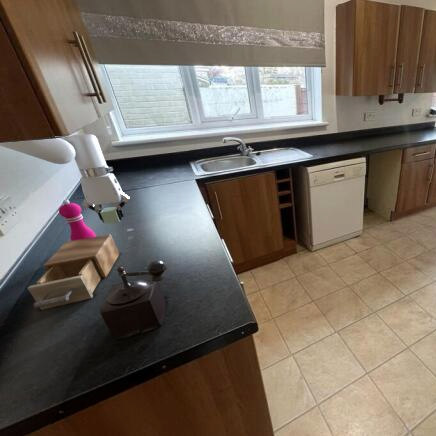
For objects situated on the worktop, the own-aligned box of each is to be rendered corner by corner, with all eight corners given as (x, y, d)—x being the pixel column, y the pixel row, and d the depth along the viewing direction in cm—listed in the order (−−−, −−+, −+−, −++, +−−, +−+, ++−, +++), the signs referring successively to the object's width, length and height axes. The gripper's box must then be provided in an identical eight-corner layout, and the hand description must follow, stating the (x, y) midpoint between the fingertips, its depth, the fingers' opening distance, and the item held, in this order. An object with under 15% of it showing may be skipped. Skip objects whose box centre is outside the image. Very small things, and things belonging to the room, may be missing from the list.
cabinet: (107, 280, 86) (95, 255, 82) (58, 291, 82) (43, 265, 78) (120, 257, 98) (110, 234, 94) (78, 265, 94) (66, 241, 90)
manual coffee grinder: (111, 343, 64) (79, 283, 56) (123, 312, 73) (96, 256, 65) (183, 322, 69) (163, 265, 61) (186, 295, 78) (168, 242, 70)
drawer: (85, 311, 73) (72, 288, 69) (31, 323, 69) (15, 300, 66) (107, 272, 88) (98, 252, 85) (65, 281, 85) (53, 261, 81)
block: (104, 223, 98) (100, 212, 96) (108, 219, 101) (104, 208, 99) (119, 221, 99) (115, 210, 97) (122, 217, 103) (118, 206, 101)
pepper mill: (99, 240, 110) (78, 194, 101) (100, 247, 105) (78, 200, 96) (76, 247, 106) (52, 199, 97) (76, 254, 101) (50, 205, 92)
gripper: (126, 166, 98) (142, 212, 106) (69, 172, 93) (90, 219, 101) (120, 171, 92) (137, 219, 100) (59, 177, 87) (81, 228, 94)
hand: (113, 219), depth 100 cm, fingers closed on block, 4 cm apart
